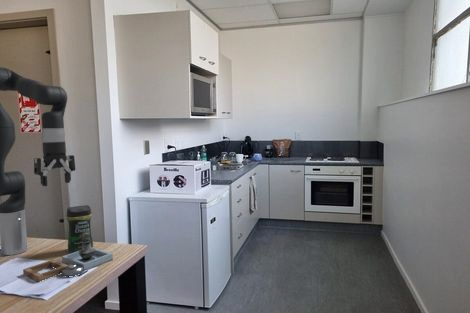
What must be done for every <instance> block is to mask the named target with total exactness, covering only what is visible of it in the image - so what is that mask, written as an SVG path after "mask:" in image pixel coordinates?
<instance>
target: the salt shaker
mask: <svg viewBox="0 0 470 313" xmlns="http://www.w3.org/2000/svg"><path fill="white" fill-rule="evenodd" d="M81 242H82V250H80V251H79V254H80V256H81V257H82V259H81V260H80V261H81V262H84V263H86V262H88V261H91V260H94V259H95V258H94V257H92V256H93V255H94V251H95V249H94V248H95V247H93V248H92V247H91V240H90V232H88V231H86V229H85V231H84V232H83V233H82V241H81Z"/></svg>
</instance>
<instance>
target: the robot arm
mask: <svg viewBox="0 0 470 313" xmlns="http://www.w3.org/2000/svg"><path fill="white" fill-rule="evenodd" d="M0 91H2V92H7V91H9V92H10V91H13V92H17V93H18V94H19V95H21V96H23V97H25V98H27V99H31V100H33V101H34V102H35V103H37V104H38V105H43V106H52V107H51V110H50V111H45V112H43V113H42V114H41V127H42V129H41V131H42V132H41V138H42V139H41V141H42V143H41V145H42V154H43V157H34V158H33V174H34V175H36V176H39V177H40V185H42V187H48V176H47V174H48V173H49V172H50V171H51V170H52V169H53V170H54V169H61V170H63V172H64V174H63V175H64V183H66V184H70V183H71V180H72V175H71V174H72V172H75V171H76V162H75V161H76V160H75V155H73V154H69V155H66V154H67V153H66V152H67V148H66V147H67V146H66V133H65V125H64V124H65V123H64V117H65V112H66V107H67V104H68V93H67V91H66V90H65V88H64V87H62V86H57V85H48V84H47V85H46V84H44V83H42V82H40V81H38V80H34V79H31V78H28V77H24V76H22V75H20V74H18V73H17V72H15V71H13V70H11V69H9V68H7V67H2V66H0ZM15 142H16V127H15V122H14V120H13V119H12V117H11V116H10V114H9V113H8V112H7V111H6V109H5V108H4V107H3V105H2V103H1V102H0V197H4V196H9V197H8V198H7V199H6V200H5V201H3V202H2V203H0V255H3V256H13V255H14V256H15V255H19V254H21V253H24V252H25V251H28V236H27V224H26V221H27V220H26V211H25V210H26V207H25V205H26V180H25V176H24V174H23V173H22V172H21V171H19V170H15V171H13V170H12V171H6V172H5V164H6V159H7V157H8V155H9V153H10V152H11V149H12V148H13V146H14V144H15ZM66 161H67V163H66ZM43 163H44V165H43V166H42V164H43ZM67 164H68V165H67Z"/></svg>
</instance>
